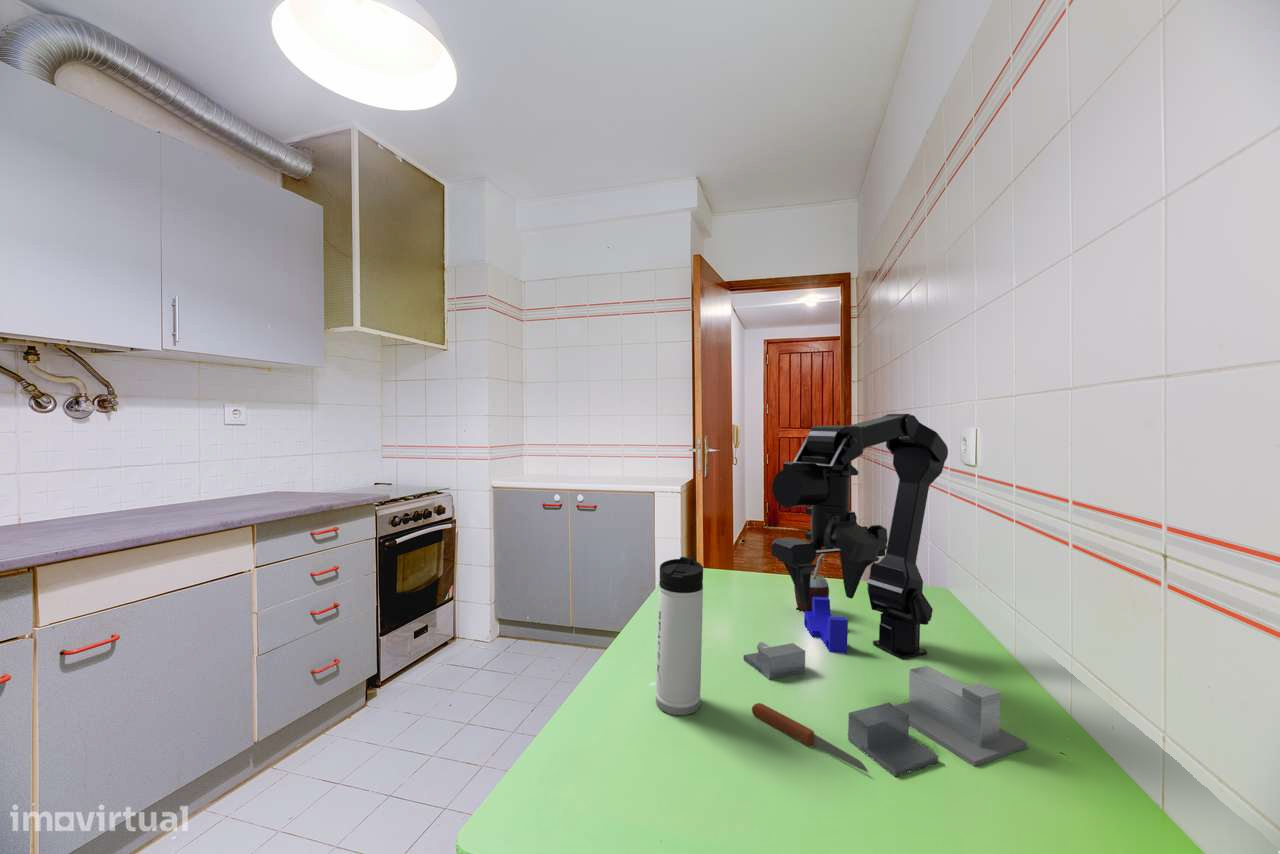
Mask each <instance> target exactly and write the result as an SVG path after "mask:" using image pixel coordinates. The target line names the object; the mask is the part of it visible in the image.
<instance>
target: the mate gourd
mask: <svg viewBox="0 0 1280 854" xmlns="http://www.w3.org/2000/svg"><path fill="white" fill-rule="evenodd" d="M825 555H828V553H825V554H819V557H817V561H816V565H817V566H816V568H815V569H814V573H813V572H811V578H810V597H809V603H808V605H805V604H803V603H802V602H801V600H800V597H799V595H798V592H797V590H796V588H795V585H793V586H794V587H793V588H794V594H795V595H794V597H795V601H796V606H797V607H796V608H795V610H796V611H797V610H799V611H798V612H801V611H803V612H802V613H804V612H805V611H811V612H812V597H827V598H829V597H830V588H829V583H828V581H827V579H826V578H825V576H823V575H822V574H818V571H819V568H820V564H821V563H822V561H823V557H824V556H825ZM829 599H830V598H829Z"/></svg>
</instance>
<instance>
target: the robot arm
mask: <svg viewBox="0 0 1280 854" xmlns="http://www.w3.org/2000/svg"><path fill="white" fill-rule="evenodd" d="M808 432H809V433H808V434H807V435H806V437H805V440H804V441H803V443H802V444H801V446H800V448H799V450H798V452H797V454H796V456H795V457H794V459H793V461H784V462H783V463H782V470H780V471H778V472H777V474H776V475H775V477H774V479H773V481H772V483H771V490H772V495H773V497H774V499H775V501H776V502H777V503H778V505H780V506H781V507H783V508H797V507H805V515H809V516H810V532H805V533H804V539H805V540H803V539H799V538H797V537H793V536H792V537H791V536H790V537H781V538H780V537H779V538H778V537H777V538H775V539H774V540H773V541H772V543H771V554H770V555H771V557H775V558H777V561H778V562H780V563H783V565H784V567H785V568H786V570H787V572H788V574H789V576H790V578H791V581H792V582H793V586H795V588H796V590H797V592H798V595H799V597H800V600H801V602H802V603H803V604H805V605H808V603H809V597H810V578H811V573H813V571H815V569H816V566H817V564H814V563H813V562H814V561H815V559H817V555H821V554H825V553H827V554H834V553H839V559H840V564H841V566H840V567H841V573H842V581H843V587H844V592H845V597H846V598H848V599H853V598H854V596H855V594H856V591H857V589H858V586H859V584H860V581H862V580H861V579H862V578H863V574H864V573H865V571H866V570H867V569H866V568H868V567H869V566H870V571H869V576H868V580H867V582H866V584H867V594H868V598H869V599H868V600H869V603H870V607H871V610H872V611H877V612H880V623H879V626H878V629H879V630H878V634H879V635H878V639H877V640H873V641H872V644H873V645H874V646H876V647H878V648H880V649H882V650H884V651H886V652H888V653H890V654H892V655H894V656H896V657H898V658H899V659H903V660H904V659H909V658H913V657H917V656H923V655H927V654H928V649H925V648H923V647H921V646H920V642H921V639H920V638H921V636H920V635H921V625H925V626H927V625H929V622H930V621H931V620H932V616H933V610H934V609H933V607H932V606H931V604H930V602H929V601H928V599H927V598H926V596H925V595H924V593H923V587H924V581H923V578H922V576H921V573H920V570H919V569H918V566H917V557H918V552H919V546H920V540H921V535H922V529H923V524H924V517H925V512H926V506H927V502H928V495H929V489H930V486H931V484H933V482H934V481H936V479H937V478H938V477H939V476H940V475H942V473H943V470H944V467H945V462H946V460H947V459H948V456H949V449H948V446H947V444H946V443H945V440H943V438H942V437H941V436H940V435H939V433H938V432H937V431H936V430H933V429H932V428H931V427H928V426H926V425H924V424H923V423H921V422H920V421H919V420H918V419H917V417H916V416H915V415H913V414H910V413H887V414H886V415H883V416H881V417H878V418H877V417H876V418H871V419H870V420H866V421H865V420H864V421H861V422H858V423H857V422H856V423H854V424H850V425H814V426H812V427H811V428H810V429H809V430H808ZM883 443H885V447H886V448H887V450H888V451H889V453H891V455H892V457H893V458H892V466H893V468H894V470H895V472H896V475H897V477H898V486H897V491H896V497H895V502H894V507H893V512H892V519H891V525H890V527H889V528H890V530H889V535H888V530H887V528H885V527H884V526H882V525H881V524H877V525H874V524H873V525H870V526H869V527H868V526H865V525H864V526H861V525H859V524H858V521H857V520H858V519H857V514H856V512H855V511H851V510H850V501H851V500H850V498H851V497H850V496H851V495H850V494H851V493H850V492H851V476H852V477H853V476H858V475H859V470H857V468H856V467H854V466H853V464H852V463H851V462H853V461H854V460H856V459H858V458H859V457H860V456H862V455H863V454H864V451H865V449H867V448H869V447H872V446H876V445H879V444H883ZM806 506H807V507H806ZM808 506H810V507H808ZM806 540H808V541H806ZM809 541H810V542H809ZM825 555H826V554H825ZM879 557H883V558H882V559H880V558H879ZM879 560H880V561H879ZM878 561H879V562H878Z"/></svg>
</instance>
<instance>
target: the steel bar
mask: <svg viewBox="0 0 1280 854" xmlns="http://www.w3.org/2000/svg"><path fill="white" fill-rule="evenodd" d="M908 677H909V678H908V679H909V681H908V682H909V683H908V684H909V685H908V686H909V687H908V702H909V705H910V706H912V707H913V708H915V709H917V710H918V711H920V712H922V713H923V714H925V715H927V716H928V717H930V718H932V719H933V720H935V721H937V722H938V723H940V724H942V725H944V726H945V727H947V728H949V729H950V730H952V731H954V732H955V733H957V734H959V735H960V736H962V737H964V738H965V739H967V740H969V741H970V742H972V743H974V744H975V745H977V746H979V747H980V748H981V747H984V746H987V745H990V744H993V743H996V742H999V728H1000V706H1001V704H1000V703H1001V699H1000V698H1001V691H998V690H997V689H994V688H993V687H990V686H988V685H986V684H985V683H981V682H979V683H975V684H971V685H967V684H965V683H962V681H958V680H957V679H955V678H953V677H951V676H949V675H947V674H945V673H943V672H940V671H939V670H936V669H934V668H933V667H931V666H928V665H924V666H919V667H916V668H911V669H909V676H908Z"/></svg>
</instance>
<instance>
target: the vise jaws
mask: <svg viewBox="0 0 1280 854" xmlns="http://www.w3.org/2000/svg"><path fill="white" fill-rule="evenodd" d="M756 650H757V652H753V653H748V654H744V655H743V661H745V662H746V663H747V664H748V665H750V666H751V667H752V668H753V667H754V669H755V670H756V671H757V670H758V671H757V672H759V673H760V674H761V675H762V676H764V677H765V678H766V679H768V680H769V681H770V680H774V678H775V679H779V677H780V678H784V676H785V677H788V676H789V675H790V676H794V675H799V674H803V673H805V672H806V650H805V649H803V648H802V647H800V646H799V645H797V644H796V643H793V642H792V643H786V644H781V645H774V646H769V645H767V644H766V643H765V642H763V641H760V642H758V643H757V645H756ZM847 724H848V725H847V726H848V728H847V730H848V731H847V732H848V733H847V740H849V741H850V742H849V741H848V742H849V743H850V744H852V743H853V744H854V745H853V744H852V745H853V746H855V747H856V748H857V747H858V748H859V749H858V748H857V749H858V750H860V751H861V750H862V751H863V752H862V751H861V752H862V753H864V752H865V753H866V754H868V755H867V757H869V756H870V757H871V758H873V759H874V760H875V761H876V762H875V761H874V760H873V759H872V760H873V761H874V762H875V763H877V762H878V763H879V764H880V765H881V766H880V765H879V764H878V763H877V764H878V765H879V766H880V767H882V766H883V767H884V768H885V769H884V768H883V767H882V768H883V769H884V770H886V771H887V772H888V771H889V772H888V773H890V774H891V775H892V774H893V775H894V776H893V775H892V776H893V777H895V776H897V777H900V776H902V775H901V774H903V775H905V774H904V773H906V774H908V773H907V772H909V771H912V772H914V771H913V770H915V771H917V770H916V769H918V770H920V769H919V768H921V769H923V768H922V767H924V768H927V767H929V766H928V765H930V766H933V765H935V763H936V764H938V763H939V755H938V754H936V753H934V752H933V751H931V750H930V749H929V748H927V747H925V746H924V745H922V744H921V743H919V742H918V741H917V740H915V739H913V738H912V737H911V736H910V735H909V733H910V725H909V714H907V713H905V712H904V711H902V710H900V709H899V708H897V707H896V706H895V705H894V704H893V703H891V702H886V703H881V704H878V705H874V706H870V707H866V708H863V709H862V708H861V709H858V710H854V711H850V712H848V723H847ZM865 753H864V754H865ZM866 754H865V755H866ZM870 757H869V758H870ZM871 758H870V759H871ZM932 764H933V765H932ZM926 766H927V767H926ZM909 773H910V772H909ZM899 775H900V776H899Z"/></svg>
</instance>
